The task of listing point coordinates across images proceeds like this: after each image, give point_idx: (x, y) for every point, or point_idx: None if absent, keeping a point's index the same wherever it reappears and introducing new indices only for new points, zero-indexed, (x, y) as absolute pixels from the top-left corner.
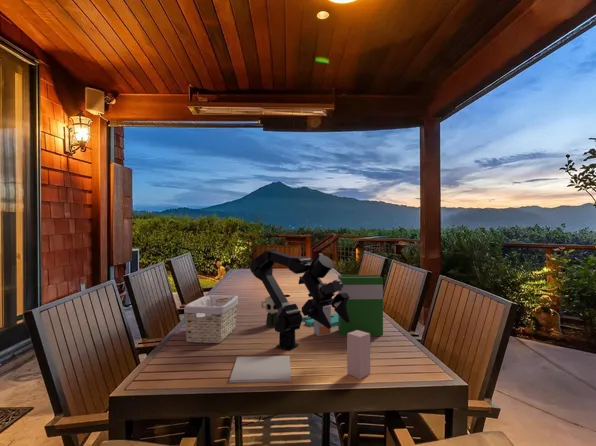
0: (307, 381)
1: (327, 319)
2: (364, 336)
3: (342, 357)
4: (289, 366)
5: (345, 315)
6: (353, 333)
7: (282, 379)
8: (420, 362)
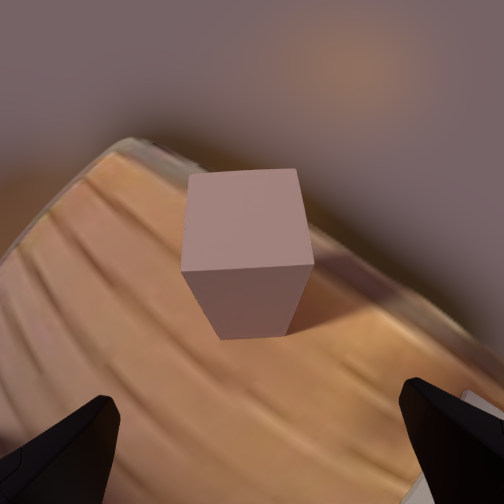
0: (431, 365)
1: (455, 418)
2: (250, 175)
3: (170, 456)
4: (424, 479)
5: (78, 450)
6: (277, 232)
7: (481, 399)
8: (52, 237)
